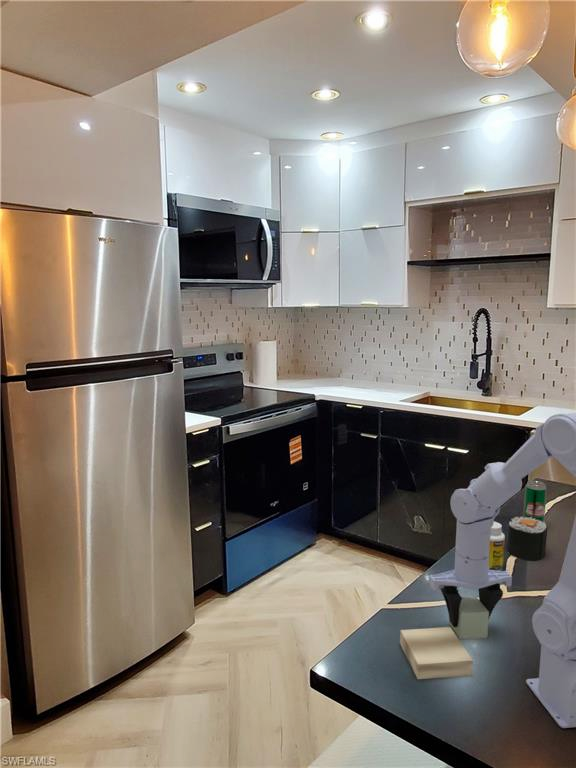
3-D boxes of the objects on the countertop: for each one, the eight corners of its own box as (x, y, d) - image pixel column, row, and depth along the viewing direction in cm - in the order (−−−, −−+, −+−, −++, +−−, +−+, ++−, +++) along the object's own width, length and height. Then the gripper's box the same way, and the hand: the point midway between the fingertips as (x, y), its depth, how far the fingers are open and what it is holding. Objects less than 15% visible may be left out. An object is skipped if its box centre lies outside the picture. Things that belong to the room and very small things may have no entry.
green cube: (487, 637, 96) (488, 611, 95) (460, 639, 95) (461, 613, 94) (474, 621, 101) (476, 596, 100) (449, 622, 100) (450, 598, 99)
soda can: (524, 529, 141) (527, 485, 139) (521, 521, 146) (524, 479, 144) (545, 531, 140) (548, 487, 138) (542, 523, 145) (545, 481, 143)
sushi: (548, 551, 129) (551, 519, 127) (538, 564, 122) (541, 531, 121) (513, 541, 134) (516, 511, 133) (502, 553, 127) (504, 522, 126)
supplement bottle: (492, 576, 117) (495, 531, 116) (471, 565, 122) (473, 522, 120) (508, 569, 120) (510, 525, 119) (486, 559, 125) (489, 517, 123)
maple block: (471, 677, 86) (472, 660, 86) (417, 681, 85) (418, 664, 85) (449, 642, 95) (450, 626, 95) (400, 645, 94) (400, 630, 94)
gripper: (499, 540, 100) (495, 608, 102) (424, 544, 99) (422, 612, 101) (519, 558, 93) (514, 630, 95) (439, 562, 92) (436, 635, 94)
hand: (468, 622), depth 98 cm, fingers closed on green cube, 5 cm apart
